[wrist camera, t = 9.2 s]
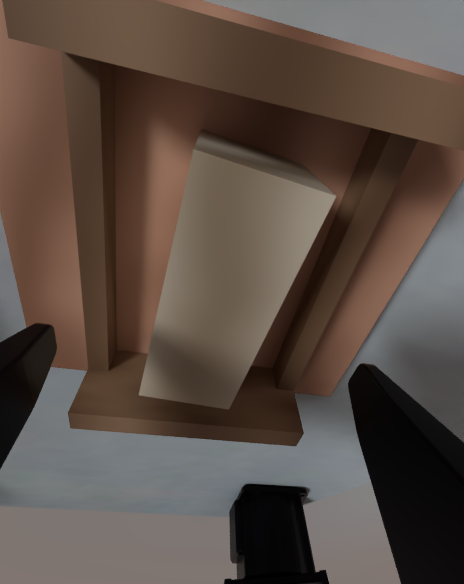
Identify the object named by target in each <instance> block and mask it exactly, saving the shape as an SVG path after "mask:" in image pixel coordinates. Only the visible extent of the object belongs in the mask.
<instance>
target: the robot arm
mask: <svg viewBox="0 0 464 584" xmlns="http://www.w3.org/2000/svg"><path fill="white" fill-rule="evenodd" d="M56 351H57V343H56V337H55V330H54V327H53V326H52V325H50V324H44V323H35V324H32V325H30V326H29V327H27V328H25V329H23V330H22V331H20V332H18V333H16V334H14V335H13V336H11V337H9V338H7V339H5V340H4V341H2V342H0V469H1V467H2V465H3V463H4V461H5V460H6V458H7V456H8V454H9V452H10V450H11V449H12V447H13V445H14V443H15V441H16V439H17V438H18V436H19V434H20V432H21V430H22V429H23V427H24V425H25V423H26V421H27V419H28V418H29V416H30V414H31V412H32V410H33V408H34V406H35V404H36V401H37V399H38V397H39V394H40V392H41V389H42V387H43V384H44V382H45V380H46V377H47V375H48V372H49V370H50V367H51V365H52V362H53V360H54V357H55V355H56ZM348 388H349V394H350V399H351V404H352V410H353V415H354V420H355V425H356V430H357V435H358V438H359V442H360V446H361V449H362V452H363V456H364V459H365V463H366V466H367V469H368V473H369V476H370V479H371V483H372V486H373V490H374V493H375V496H376V500H377V503H378V506H379V510H380V513H381V517H382V520H383V524H384V527H385V530H386V533H387V537H388V541H389V544H390V547H391V551H392V554H393V558H394V561H395V564H396V568H397V571H398V574H399V578H400V581H401V584H464V442H462V441H461V440H460V439H459V438H458V437H457V436H455V435H454V434H453V433H452V432H451V431H450V430H449V429H447V428H446V427H445V426H444V425H443V424H442V423H441V422H439V421H438V420H437V419H436V418H435V417H434V416H432V415H431V414H430V413H429V412H428V411H427V410H426V409H424V408H423V407H422V406H421V405H420V404H419V403H417V402H416V401H415V400H414V399H413V398H412V397H411V396H409V395H408V394H407V393H406V392H405V391H404V390H402V389H401V388H400V387H399V386H398V385H397V384H396V383H394V382H393V381H392V380H391V379H390V378H389V377H388V376H386V375H385V374H384V373H383V372H382V371H381V370H379V369H378V368H377V367H376V366H374V365H371V364H360V365H359V366H358V367H357V369H356V370H355V372H354V373H353V375H352V376H351V378H350V380H349V383H348ZM307 496H308V494H307V490H306V489H300V488H283V487H266V486H249V485H248V486H244V487H242V489H241V491H240V493H239V495H238V497H237V499H236V500H235V501H234V503H233V505H232V507H231V509H230V512H229V515H230V557H231V561H232V563H237V579H235V580H231V579H225V581H224V584H329V581H328V577H327V573H326V570H322V571H321V570H320V571H319V572H316V571H315V566H314V561H313V557H312V551H311V546H310V541H309V536H308V531H307V526H306V520H305V515H304V510H303V505H302V502H303V501H304V500H305V498H306V497H307Z"/></svg>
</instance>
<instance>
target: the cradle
mask: <svg viewBox="0 0 464 584" xmlns="http://www.w3.org/2000/svg"><path fill="white" fill-rule="evenodd" d="M201 129H203V130H205V131H208V132H211V133H214V134H217V135H220V136H223V137H226V138H229V139H232V140H235V141H237V142H240V143H243V144H246V145H249V146H252V147H255V148H258V149H261V150H264V151H266V152H269V153H272V154H275V155H278V156H281V157H284V158H287V159H290V160H293V161H295V162H298V163H301V164H304V165H305V166H306V167H307V168H308V169H309V170H310V171H311V172H312V173H313V174H314V175H315V176H316V177H317V178H318V179H319V180H320V181H321V182H322V183H323V184H324V185H325V186H326V187H327V188H328V189H329V190H331V191H332V192H333V193H334V194H335V195H336V198H335V200H334V202H333V204H332V206H331V208H330V210H329V212H328V214H327V216H326V218H325V220H324V222H323V224H322V226H321V228H320V230H319V232H318V234H317V236H316V238H315V240H314V242H313V244H312V246H311V248H310V250H309V252H308V254H307V256H306V258H305V260H304V262H303V263H302V265H301V267H300V269H299V271H298V273H297V275H296V277H295V279H294V281H293V283H292V285H291V287H290V289H289V291H288V293H287V295H286V297H285V299H284V301H283V303H282V305H281V307H280V309H279V311H278V313H277V315H276V317H275V319H274V321H273V323H272V325H271V327H270V329H269V331H268V333H267V335H266V337H265V339H264V341H263V343H262V345H261V347H260V349H259V351H258V353H257V355H256V357H255V359H254V361H253V363H252V365H251V367H250V369H249V371H248V373H247V375H246V377H245V379H244V380H243V382H242V384H241V386H240V388H239V390H238V392H237V394H236V396H235V398H234V400H233V402H232V404H231V406H230V408H229V410H228V409H222V408H216V407H209V406H203V405H197V404H190V403H184V402H178V401H172V400H165V399H159V398H153V397H147V396H140V395H139V391H140V387H141V382H142V378H143V373H144V369H145V364H146V360H147V355H148V351H149V347H150V342H151V338H152V333H153V329H154V324H155V320H156V315H157V311H158V306H159V302H160V297H161V293H162V288H163V284H164V280H165V275H166V271H167V266H168V262H169V257H170V253H171V248H172V244H173V239H174V235H175V230H176V226H177V222H178V217H179V213H180V208H181V204H182V199H183V195H184V190H185V186H186V181H187V177H188V172H189V168H190V163H191V159H192V155H193V150H194V147H195V145H196V142H197V139H198V137H199V134H200V132H201ZM463 179H464V76H463V75H459V74H456V73H452V72H449V71H445V70H442V69H438V68H435V67H431V66H428V65H424V64H421V63H417V62H414V61H410V60H407V59H403V58H400V57H397V56H393V55H390V54H386V53H383V52H379V51H376V50H372V49H369V48H365V47H362V46H358V45H355V44H351V43H348V42H344V41H341V40H337V39H334V38H331V37H327V36H324V35H320V34H317V33H313V32H310V31H306V30H303V29H299V28H296V27H292V26H289V25H285V24H282V23H278V22H275V21H271V20H268V19H264V18H261V17H258V16H254V15H251V14H247V13H244V12H240V11H237V10H233V9H230V8H226V7H223V6H219V5H216V4H212V3H209V2H205V1H202V0H0V212H1V216H2V220H3V225H4V229H5V234H6V238H7V243H8V247H9V251H10V256H11V260H12V265H13V269H14V273H15V278H16V282H17V287H18V291H19V296H20V300H21V304H22V309H23V313H24V318H25V322H26V326H27V327H29V326H30V325H32V324H35V323H44V324H50V325H52V326H53V327H54V330H55V337H56V343H57V351H56V355H55V357H54V360H53V362H52V365H51V367H57V368H67V369H76V370H85V371H87V373H86V375H85V377H84V379H83V381H82V383H81V386H80V388H79V390H78V392H77V394H76V397H75V399H74V401H73V403H72V405H71V407H70V410H69V412H68V416H69V422H70V428H74V429H86V430H99V431H111V432H124V433H136V434H149V435H162V436H174V437H187V438H199V439H212V440H224V441H237V442H249V443H262V444H274V445H287V446H296V445H297V444H298V442H299V440H300V439H301V437H302V435H303V434H304V432H303V428H302V424H301V420H300V416H299V412H298V407H297V403H296V399H295V395H294V393H302V394H311V395H321V396H331V394H332V393H333V391H334V389H335V388H336V386H337V384H338V383H339V381H340V380H341V378H342V376H343V375H344V373H345V371H346V370H347V368H348V366H349V365H350V363H351V362H352V360H353V358H354V357H355V355H356V353H357V352H358V350H359V349H360V347H361V345H362V344H363V342H364V340H365V339H366V337H367V335H368V334H369V332H370V331H371V329H372V327H373V326H374V324H375V322H376V321H377V319H378V318H379V316H380V314H381V313H382V311H383V309H384V308H385V306H386V304H387V303H388V301H389V300H390V298H391V296H392V295H393V293H394V291H395V290H396V288H397V287H398V285H399V283H400V282H401V280H402V278H403V277H404V275H405V274H406V272H407V270H408V269H409V267H410V265H411V264H412V262H413V260H414V259H415V257H416V256H417V254H418V252H419V251H420V249H421V247H422V246H423V244H424V243H425V241H426V239H427V238H428V236H429V234H430V233H431V231H432V229H433V228H434V226H435V225H436V223H437V221H438V220H439V218H440V216H441V215H442V213H443V212H444V210H445V208H446V207H447V205H448V203H449V202H450V200H451V198H452V197H453V195H454V194H455V192H456V190H457V189H458V187H459V185H460V184H461V182H462V181H463Z"/></svg>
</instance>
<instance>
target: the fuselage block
mask: <svg viewBox="0 0 464 584" xmlns="http://www.w3.org/2000/svg"><path fill="white" fill-rule="evenodd" d="M335 198H336V195H335V194H334V193H333V192H332V191H331V190H329V189H328V188H327V187H326V186H325V185H324V184H323V183H322V182H321V181H320V180H319V179H318V178H317V177H316V176H315V175H314V174H313V173H312V172H311V171H310V170H309V169H308V168H307V167H306V166H305V165H304V164H301V163H298V162H295V161H293V160H290V159H287V158H284V157H281V156H278V155H275V154H272V153H269V152H266V151H264V150H261V149H258V148H255V147H252V146H249V145H246V144H243V143H240V142H237V141H235V140H232V139H229V138H226V137H223V136H220V135H217V134H214V133H211V132H208V131H205V130H203V129H201V132H200V134H199V137H198V139H197V142H196V145H195V147H194V150H193V155H192V159H191V163H190V168H189V172H188V177H187V181H186V186H185V190H184V195H183V199H182V204H181V208H180V213H179V217H178V222H177V226H176V230H175V235H174V239H173V244H172V248H171V253H170V257H169V262H168V266H167V271H166V275H165V280H164V284H163V288H162V293H161V297H160V302H159V306H158V311H157V315H156V320H155V324H154V329H153V333H152V338H151V342H150V347H149V351H148V355H147V360H146V364H145V369H144V373H143V378H142V382H141V387H140V391H139V395H140V396H147V397H153V398H159V399H165V400H172V401H178V402H184V403H190V404H197V405H203V406H209V407H216V408H222V409H228V410H229V408H230V406H231V404H232V402H233V400H234V398H235V396H236V394H237V392H238V390H239V388H240V386H241V384H242V382H243V380H244V379H245V377H246V375H247V373H248V371H249V369H250V367H251V365H252V363H253V361H254V359H255V357H256V355H257V353H258V351H259V349H260V347H261V345H262V343H263V341H264V339H265V337H266V335H267V333H268V331H269V329H270V327H271V325H272V323H273V321H274V319H275V317H276V315H277V313H278V311H279V309H280V307H281V305H282V303H283V301H284V299H285V297H286V295H287V293H288V291H289V289H290V287H291V285H292V283H293V281H294V279H295V277H296V275H297V273H298V271H299V269H300V267H301V265H302V263H303V262H304V260H305V258H306V256H307V254H308V252H309V250H310V248H311V246H312V244H313V242H314V240H315V238H316V236H317V234H318V232H319V230H320V228H321V226H322V224H323V222H324V220H325V218H326V216H327V214H328V212H329V210H330V208H331V206H332V204H333V202H334V200H335Z"/></svg>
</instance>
